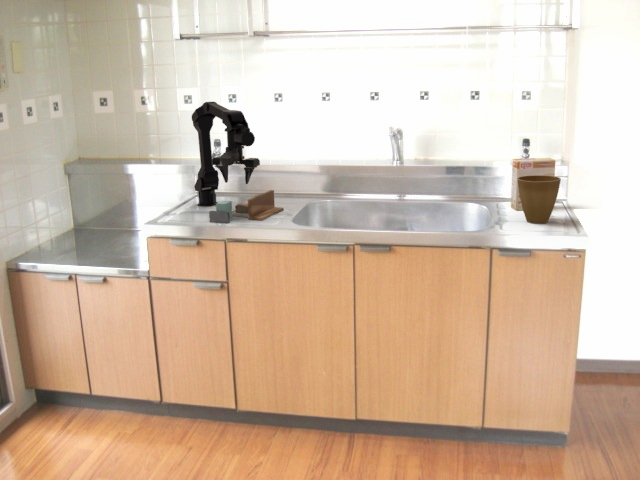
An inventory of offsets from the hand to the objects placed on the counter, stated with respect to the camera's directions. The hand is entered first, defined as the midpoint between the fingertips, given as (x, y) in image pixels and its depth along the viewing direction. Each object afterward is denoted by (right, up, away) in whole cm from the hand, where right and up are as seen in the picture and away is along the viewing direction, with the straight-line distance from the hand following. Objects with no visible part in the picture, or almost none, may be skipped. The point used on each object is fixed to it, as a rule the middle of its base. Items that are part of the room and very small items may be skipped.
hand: (236, 183), depth 281 cm
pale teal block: (-4, -15, -7) cm, 17 cm away
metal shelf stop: (-5, -16, -11) cm, 20 cm away
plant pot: (+112, -16, -22) cm, 115 cm away
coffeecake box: (+117, -10, 0) cm, 117 cm away
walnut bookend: (+12, -13, 0) cm, 17 cm away
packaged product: (+5, -12, +7) cm, 14 cm away
